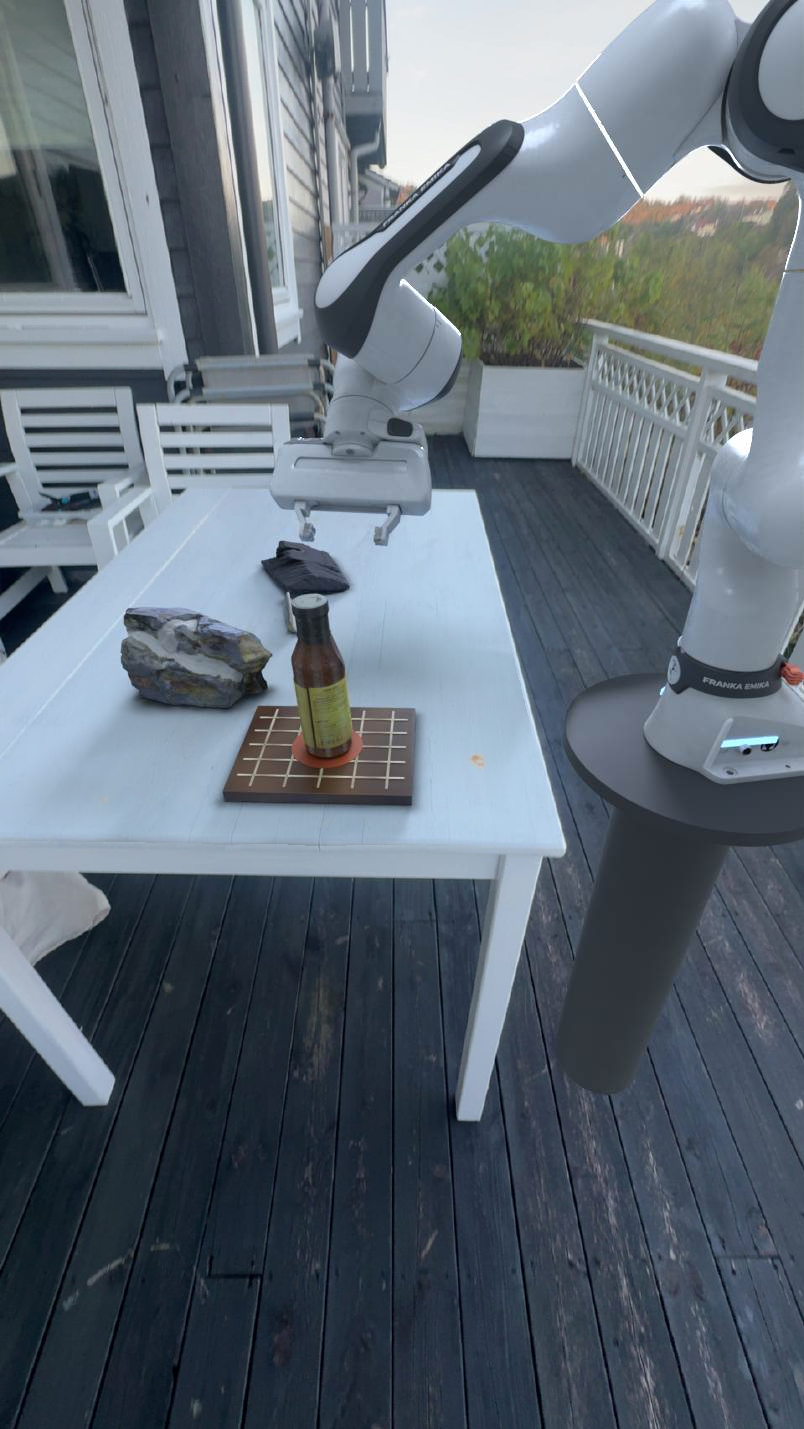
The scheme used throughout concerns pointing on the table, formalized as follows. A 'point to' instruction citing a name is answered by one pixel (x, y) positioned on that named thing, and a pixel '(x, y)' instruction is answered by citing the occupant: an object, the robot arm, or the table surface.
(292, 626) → the ceramic fragment
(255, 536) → the table surface
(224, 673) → the fossil rock
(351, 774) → the grid board
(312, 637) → the sauce bottle
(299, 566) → the dark slate chunk
